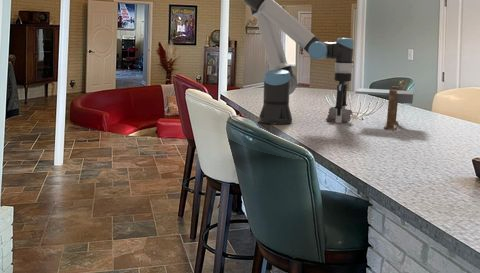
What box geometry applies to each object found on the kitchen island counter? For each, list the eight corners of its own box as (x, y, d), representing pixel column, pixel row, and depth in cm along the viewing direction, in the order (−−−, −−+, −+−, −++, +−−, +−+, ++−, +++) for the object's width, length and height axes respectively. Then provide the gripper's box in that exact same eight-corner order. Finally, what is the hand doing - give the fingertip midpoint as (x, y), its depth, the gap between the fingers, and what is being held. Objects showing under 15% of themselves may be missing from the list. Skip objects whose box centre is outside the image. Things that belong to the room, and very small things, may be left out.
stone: (350, 124, 213) (351, 109, 211) (324, 121, 217) (325, 107, 216) (353, 121, 220) (354, 107, 219) (328, 119, 225) (329, 105, 223)
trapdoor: (354, 100, 206) (355, 91, 206) (359, 96, 221) (359, 88, 220) (412, 103, 198) (413, 94, 197) (412, 99, 213) (413, 91, 212)
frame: (383, 129, 201) (386, 90, 198) (387, 121, 222) (390, 86, 218) (395, 130, 200) (399, 90, 196) (398, 122, 220) (401, 86, 216)
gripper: (348, 73, 203) (344, 125, 208) (354, 71, 222) (351, 118, 227) (330, 73, 206) (327, 123, 210) (338, 70, 225) (335, 117, 229)
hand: (340, 121), depth 218 cm, fingers closed on stone, 8 cm apart
